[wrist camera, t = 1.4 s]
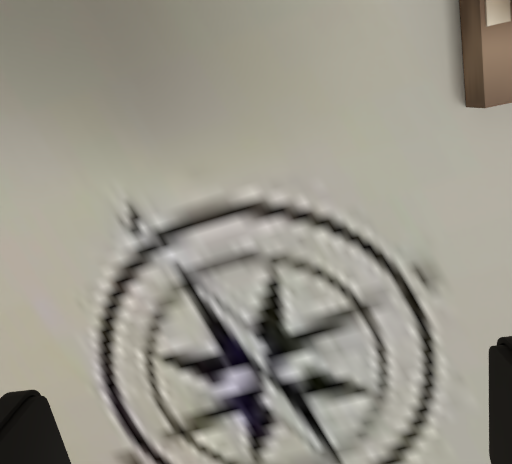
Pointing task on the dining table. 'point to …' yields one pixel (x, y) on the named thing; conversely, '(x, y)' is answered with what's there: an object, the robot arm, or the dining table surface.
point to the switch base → (487, 51)
